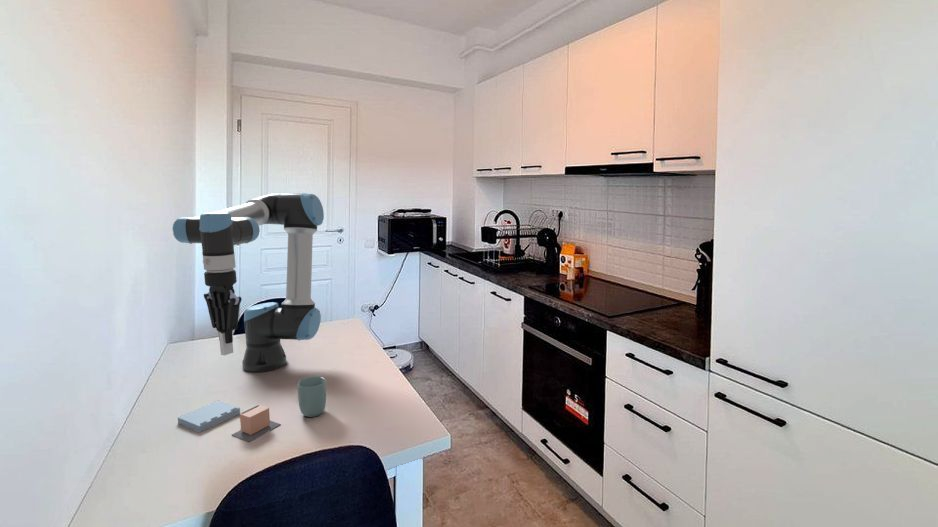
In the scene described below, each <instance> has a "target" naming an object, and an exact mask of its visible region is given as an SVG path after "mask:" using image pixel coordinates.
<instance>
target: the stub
mask: <svg viewBox="0 0 938 527" xmlns="http://www.w3.org/2000/svg"><path fill="white" fill-rule="evenodd" d="M239 421H240V430H241V431H242V432H244V433H247V434H250V435H252V434H254V433H256V432H258V431H259V430H261V429H263V428H265V427H267V426H269V425H270V421H271V418H270V408H269V407H267V406H264V405H261V404H257V405H255V406H253V407H251V408H248V409H246V410H245V411H242V412H240V414H239Z"/></svg>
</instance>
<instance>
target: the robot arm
mask: <svg viewBox="0 0 938 527" xmlns="http://www.w3.org/2000/svg"><path fill="white" fill-rule="evenodd" d="M324 215H325V214H324V208H323V204H322V201H321V200H320V198H319V197H318V196H317V195H316V194H313V193H306V192H301V193H300V192H299V193H298V192H297V193H294V192H293V193H291V192H289V193H285V192H284V193H281V192H279V193H275V192H274V193H270V194H267V195H262V196H258V197H256V198H251V199H249V200H247V201H246V202H245V203H244V204H241V205H236V206H232V207H229V208H228V207H227V208H225V209H222V210H221V209H220V210H217V211H214V212H203V213H201V214H200V215H198V216H193V217H191V216H186V217H179V218H177V219H175V221H174V222H173V225H172V232H173V233H172V234H173V237H174V239H175V240H177V241H178V242H179V243H183V244H184V243H185V244H190V245H191V244H201V249H202V250H201V252H202V264H203V270H205V272H204V273H203V275H204V276H203V277H204V285H205V286H206V287H209V288H208V290H209V291H208V292H207V293H206V292H205V293H204V294H203V298H204V300H205V302H206V306H207V309H208V310H207V311H208V314H209V318H210V322H211V323H210V324H211V327H212V328H213V329H216V331H217V332H218V341H219V348H220V349H219V350H220V355H221V356H227V355H230V354H232V353H233V354H234V344H233V340H234V337H233V331H234V330H237V329H238V328H239V327H238V326H239V315H240V305H241V302H242V297H241V296H237V295H236V294H235V293H236V292H235V289H234V285H235V284H236V283H237V271H236V270H235V268H236V267H237V266H236V254H235V246H237V245H242V244H243V245H244V244H249V243H251V242H253V241H256V239H258V238H259V235H260V226H263V225H281V226H282V225H283V230H284V231H285V232H286V233H287V256H286V257H287V259H286V260H287V261H286V262H287V264H286V287H285V288H286V292H285V294H286V295H285V299H284V301H282V302H281V307H279V303H278V302H273V301H272V302H271V301H270V302H263V303H259V304H254V305H251V306H249V307H247V308H246V309H245V310H244V312H243V315H244V316H243V322H244V332H245V347H246V348H245V351H244V355H243V359H242V362H241V363H242V369H243V370H244V371H246V372H252V373H262V372H264V373H265V372H269V371H274V370H277V369H280V368H281V367H283V366H285V365H286V364H287V355H286V353H285V350H284V348H283V346H282V345H283V344H281V340H295V341H296V340H297V341H309V340H311V339H313V338H314V337H315V336H316V334H317V332H318V331H319V328H320V326H321V319H322V315H321V310H319V308H317V307H316V303H315V302H314V300H312V297H311V296H312V269H313V268H312V267H313V241H314V240H313V238H314V237H313V236H314V235H315V233H316V232H318V227H319V226H321V225H322V224H323V223H324V222H323V221H324V217H325V216H324Z"/></svg>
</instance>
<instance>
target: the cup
mask: <svg viewBox="0 0 938 527" xmlns="http://www.w3.org/2000/svg"><path fill="white" fill-rule="evenodd" d="M326 382H327V381H326V378H325V377H323V376H318V375H317V376H316V375H315V376H308V377H304V378H301V379H300V380H298V382H297V388H296V389H297V399H298V400H297V402H298V406H299V407H298V408H299V410H300V413H301V414H302V415H303V416H304V417H307V418H309V417H310V418H313V417H318V416H319V415H321V414H322V413H323V412H324V410H326V409H325V408H326V406H327V383H326Z"/></svg>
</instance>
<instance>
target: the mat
mask: <svg viewBox="0 0 938 527" xmlns="http://www.w3.org/2000/svg"><path fill="white" fill-rule="evenodd" d="M279 426H281V423H280V422H279V423H278V422H275V421H273V420H270V425H269V426H267V427H265V428H263V429H261V430H259V431H258V432H256V433H254V434H252V435H250V434H247V433H244V432H242V431H241V429H240V430H238V431H236V432H234V433H232V434H231V436H232V437H234V438H237V439H240V440H242V441H245V442H247V443H251V442H252V441H254V440H256V439H258V438H259V437H261V436H263V435H266V433H269V432H270V431H272V430H274V429H276V428H278V427H279ZM268 431H269V432H268Z"/></svg>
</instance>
